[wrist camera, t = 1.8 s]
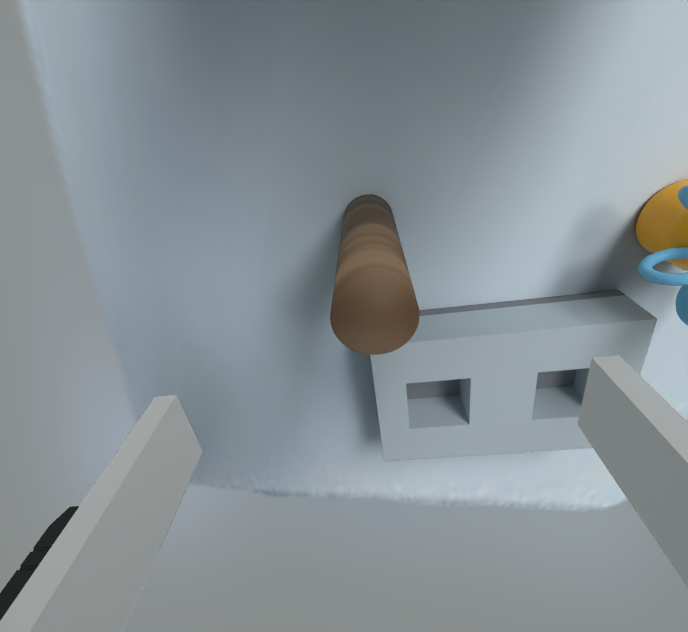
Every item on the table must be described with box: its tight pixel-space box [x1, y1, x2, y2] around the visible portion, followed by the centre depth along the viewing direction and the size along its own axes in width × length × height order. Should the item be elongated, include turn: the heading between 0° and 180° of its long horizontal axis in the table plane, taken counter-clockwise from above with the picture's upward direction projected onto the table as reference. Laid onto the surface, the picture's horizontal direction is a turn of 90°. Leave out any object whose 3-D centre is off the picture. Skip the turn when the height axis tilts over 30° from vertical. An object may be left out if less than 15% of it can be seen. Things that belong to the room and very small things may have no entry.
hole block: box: [370, 290, 657, 461], centre depth 36 cm, size 14×22×5 cm, turn 98°
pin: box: [330, 195, 419, 355], centre depth 24 cm, size 4×4×16 cm
